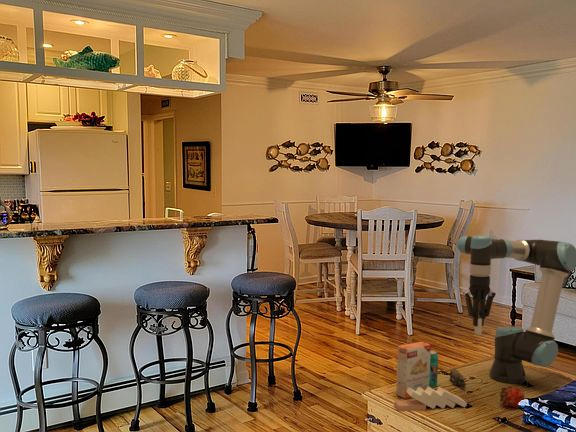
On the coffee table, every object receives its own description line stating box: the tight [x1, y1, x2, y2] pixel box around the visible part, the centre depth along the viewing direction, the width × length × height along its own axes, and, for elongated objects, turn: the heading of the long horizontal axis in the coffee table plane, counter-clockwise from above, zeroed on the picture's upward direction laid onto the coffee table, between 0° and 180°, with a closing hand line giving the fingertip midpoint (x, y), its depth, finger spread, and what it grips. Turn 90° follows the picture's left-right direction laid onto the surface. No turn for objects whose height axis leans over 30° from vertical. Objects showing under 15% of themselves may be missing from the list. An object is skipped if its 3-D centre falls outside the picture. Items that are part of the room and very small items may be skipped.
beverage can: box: [429, 349, 439, 389], centre depth 237 cm, size 6×6×15 cm
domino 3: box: [416, 387, 447, 409], centre depth 215 cm, size 2×5×11 cm
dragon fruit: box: [499, 386, 525, 409], centre depth 216 cm, size 8×8×12 cm
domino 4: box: [425, 386, 456, 409], centre depth 215 cm, size 2×5×11 cm
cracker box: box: [395, 341, 432, 400], centre depth 227 cm, size 14×6×21 cm, turn 123°
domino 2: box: [406, 387, 437, 410], centre depth 214 cm, size 2×5×11 cm
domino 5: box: [436, 386, 468, 408], centre depth 216 cm, size 2×5×11 cm
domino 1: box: [393, 399, 427, 412], centre depth 214 cm, size 2×5×11 cm
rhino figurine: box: [448, 368, 467, 389], centre depth 237 cm, size 4×14×6 cm, turn 6°
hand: (478, 334), depth 216 cm, fingers closed
